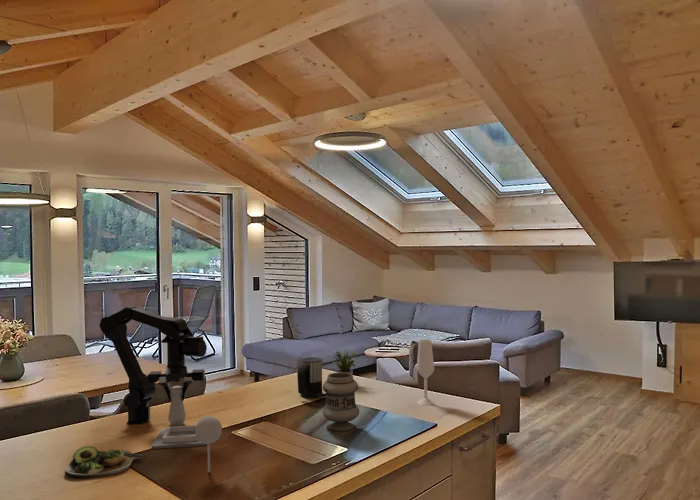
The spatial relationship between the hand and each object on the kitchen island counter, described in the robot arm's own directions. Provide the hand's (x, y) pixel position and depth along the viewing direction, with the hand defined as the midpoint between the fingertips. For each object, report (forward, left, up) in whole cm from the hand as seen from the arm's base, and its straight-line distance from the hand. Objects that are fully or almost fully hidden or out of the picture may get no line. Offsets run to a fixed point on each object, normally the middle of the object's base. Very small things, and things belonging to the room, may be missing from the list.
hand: (176, 401), depth 193 cm
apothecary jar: (+55, -15, -8) cm, 58 cm away
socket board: (+4, -15, -8) cm, 17 cm away
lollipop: (+15, -44, -8) cm, 47 cm away
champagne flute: (+91, +9, -8) cm, 92 cm away
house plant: (+63, +42, -8) cm, 76 cm away
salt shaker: (0, 0, -8) cm, 8 cm away
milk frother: (+51, +25, -8) cm, 58 cm away
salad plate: (-16, -34, -9) cm, 39 cm away
